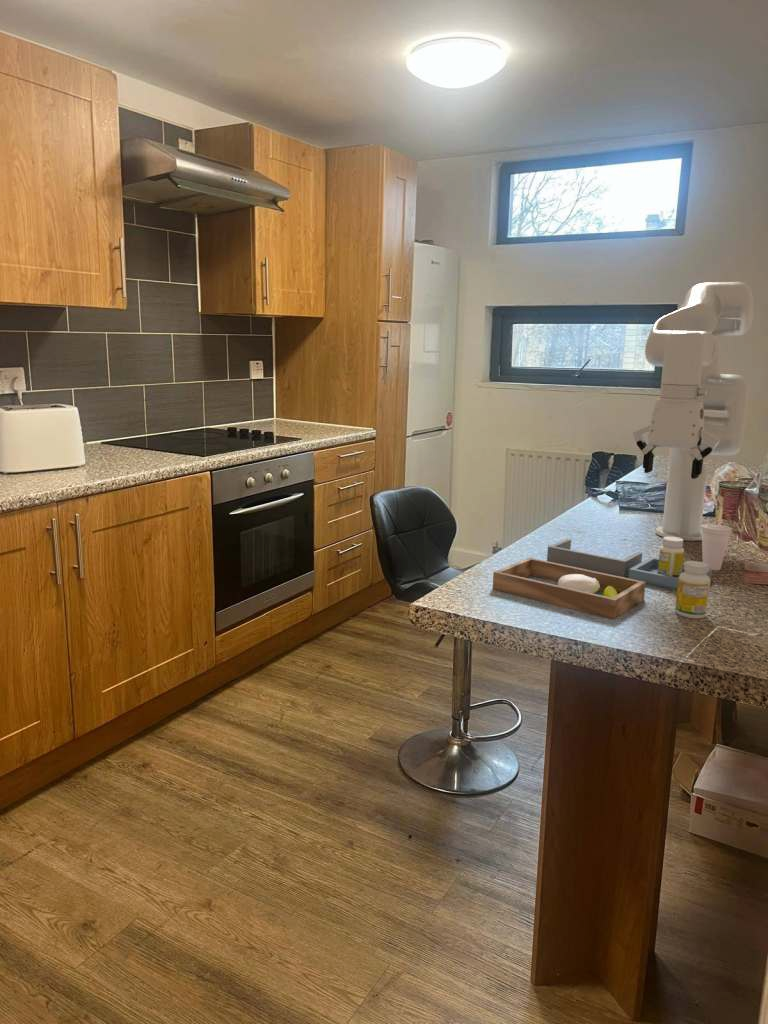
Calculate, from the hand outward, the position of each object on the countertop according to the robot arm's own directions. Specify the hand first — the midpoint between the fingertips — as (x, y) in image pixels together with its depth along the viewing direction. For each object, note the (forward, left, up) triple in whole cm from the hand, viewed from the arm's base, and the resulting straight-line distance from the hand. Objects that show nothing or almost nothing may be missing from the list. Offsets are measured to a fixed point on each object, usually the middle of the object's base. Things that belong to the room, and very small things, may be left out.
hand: (671, 474), depth 155 cm
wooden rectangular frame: (+27, -9, -22) cm, 36 cm away
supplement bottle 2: (+22, +13, -22) cm, 34 cm away
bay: (+3, -14, -22) cm, 26 cm away
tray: (+3, +3, -22) cm, 22 cm away
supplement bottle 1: (+3, +3, -21) cm, 22 cm away
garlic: (+25, -8, -22) cm, 34 cm away
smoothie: (-13, +7, -22) cm, 26 cm away
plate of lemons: (+24, 0, -22) cm, 33 cm away
